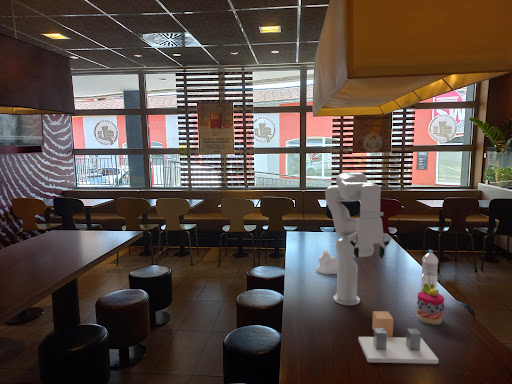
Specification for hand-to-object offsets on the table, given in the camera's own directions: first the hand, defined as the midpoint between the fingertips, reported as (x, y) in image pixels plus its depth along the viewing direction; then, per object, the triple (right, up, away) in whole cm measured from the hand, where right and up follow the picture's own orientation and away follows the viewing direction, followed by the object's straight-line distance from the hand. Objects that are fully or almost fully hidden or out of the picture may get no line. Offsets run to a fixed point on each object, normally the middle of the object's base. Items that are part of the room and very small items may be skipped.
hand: (368, 256), depth 141 cm
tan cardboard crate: (+5, -31, 0) cm, 31 cm away
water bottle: (+39, -27, +31) cm, 56 cm away
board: (+6, -32, -13) cm, 35 cm away
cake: (+30, -30, +11) cm, 44 cm away
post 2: (+12, -32, -13) cm, 37 cm away
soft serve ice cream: (-2, -22, +70) cm, 74 cm away
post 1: (0, -32, -12) cm, 35 cm away
